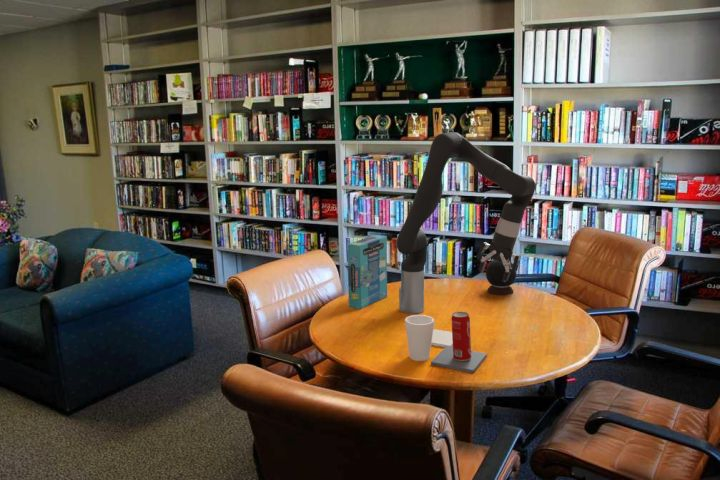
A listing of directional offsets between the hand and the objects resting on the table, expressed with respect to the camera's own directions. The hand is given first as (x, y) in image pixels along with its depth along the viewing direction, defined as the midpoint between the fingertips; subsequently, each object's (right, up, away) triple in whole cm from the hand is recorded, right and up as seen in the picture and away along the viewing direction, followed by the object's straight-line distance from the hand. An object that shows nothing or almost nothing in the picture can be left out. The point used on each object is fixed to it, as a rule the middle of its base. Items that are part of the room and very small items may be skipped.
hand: (492, 276), depth 203 cm
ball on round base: (+17, -10, +58) cm, 61 cm away
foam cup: (-26, -26, -9) cm, 38 cm away
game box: (-42, -14, +47) cm, 65 cm away
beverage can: (-13, -26, -13) cm, 32 cm away
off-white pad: (-17, -22, +5) cm, 29 cm away
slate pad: (-14, -26, -13) cm, 32 cm away
